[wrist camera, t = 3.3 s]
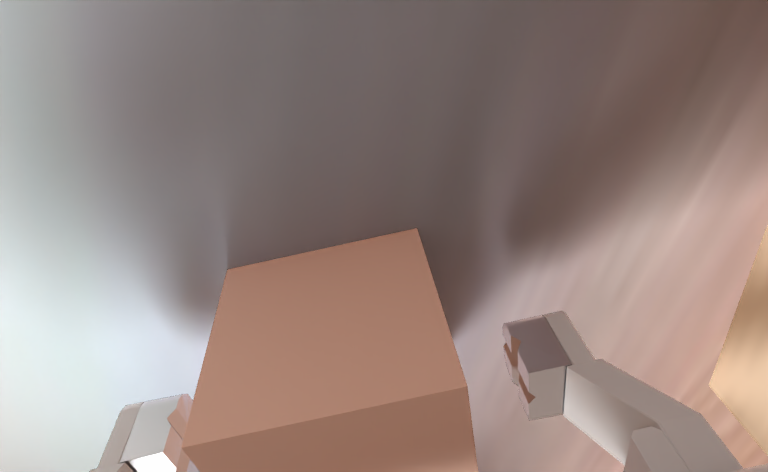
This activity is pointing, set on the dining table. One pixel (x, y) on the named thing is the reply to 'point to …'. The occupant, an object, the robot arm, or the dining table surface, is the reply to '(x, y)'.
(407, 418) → the terracotta cube
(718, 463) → the robot arm
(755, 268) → the birch base block
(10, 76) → the dining table surface
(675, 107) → the dining table surface
